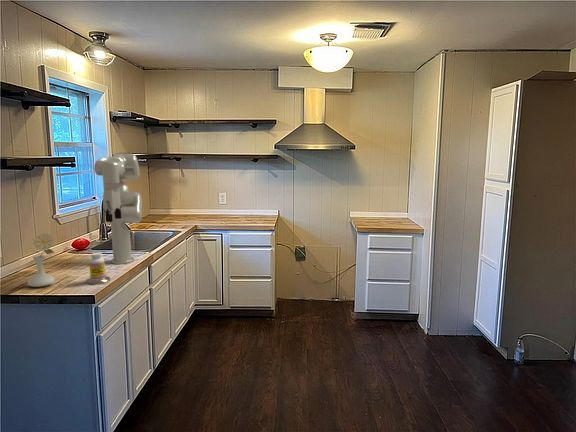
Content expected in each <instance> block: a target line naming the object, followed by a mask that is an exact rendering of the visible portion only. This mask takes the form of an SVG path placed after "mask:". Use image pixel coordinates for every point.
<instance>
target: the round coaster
mask: <svg viewBox="0 0 576 432" xmlns="http://www.w3.org/2000/svg"><path fill="white" fill-rule="evenodd" d="M108 281H109V282H110V281H111V277H109V276H106V275H105V279H103V280H100V281H92V280H91V278H90V277H89V278H86V280H85V284H87V285H89V284H90V286H92V285H93V284H98V285H103V284H107V283H109V282H108ZM106 282H107V283H106ZM102 283H103V284H102Z"/></svg>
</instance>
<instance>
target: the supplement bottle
mask: <svg viewBox="0 0 576 432" xmlns="http://www.w3.org/2000/svg"><path fill="white" fill-rule="evenodd" d="M90 255H91V258H90V259H89V275H90V277H89V278H91V280H92V281H100V280H103V279H105V276H106V264H105V263H106V262H105V259H104V258H103V253H102V252H94V253H91V254H90Z"/></svg>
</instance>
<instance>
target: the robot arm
mask: <svg viewBox="0 0 576 432" xmlns="http://www.w3.org/2000/svg"><path fill="white" fill-rule="evenodd" d="M93 168H94V169H93V170H94V173H95V175H97V176H102V184H103V195H102V203H103V204H102V208H103V211H104V215H105V222H106V223H110V228H111V230H110V231H111V242H112V244H111V245H112V257H113V258H112V259H110V263H111V264H114V265H123V264H124V265H125V264H128V263H132V262H134V261H135V258H134V257H133V256H132V254H133V251H132V250H131V234H130V229H129V228H128V226H127V224H138V223H140V222H141V221H142V220H143V219H142V218H143V197H142V195H141V194H140V192H137V191H130V190H129V189H130V188H129V185H127V184H126V182H124V181H123V180H137V179H139V177H140V175H141V173H140V166H139V161H138V157H137V156H136V155H135V154H134V153H115V154H112V155H111V156H110V157H109V156H108V157H104V158H98V159H97V160H96V161H95V163H94V165H93Z"/></svg>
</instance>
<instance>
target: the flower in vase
mask: <svg viewBox="0 0 576 432" xmlns="http://www.w3.org/2000/svg"><path fill="white" fill-rule="evenodd" d="M54 242H55V240H54V237H52V235H51V234H49V233H42V234H39V235H37V236H35V238H34V239H33V245H34V247H35V248H36V249H38V250H42V252H41V253H40V252H38V251H34V250H31V251H32V252H34V253H36V254H40V255H36V256H33V257H32V259H33V260H34V261H35V262H36V263H35V264H36V267H37V269H36V273H35V274H34V275H33V276H32V277H31V278H30V279H28V281H27V283H26V284H27V286H29V287H34V288H40V287H45V286H49V285H51V284H53V283H54V282H55V280H56V279H55V277H53V276H52V275H50V274H49V273H47V272H45V271H44V267H43V266H44V265H43V263H44V260H45V258H46V256H45V255H43V253H45V254H46V255H50V254H53V253H55V251H54V250H52V249H51V247H52V246H53V244H54Z"/></svg>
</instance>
